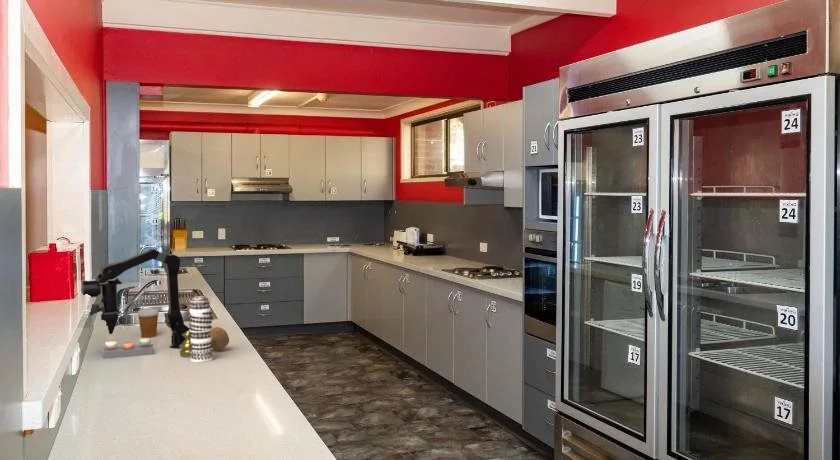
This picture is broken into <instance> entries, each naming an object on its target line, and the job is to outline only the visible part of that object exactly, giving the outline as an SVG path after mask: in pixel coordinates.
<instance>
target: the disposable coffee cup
mask: <svg viewBox="0 0 840 460" xmlns="http://www.w3.org/2000/svg"><path fill="white" fill-rule="evenodd" d="M159 313H160V312H159V309H157V308H143V309H140V310H137V313H136V315H137V317H138V323H139V329H140V334H141V338H154V337H157V333H158V332H157V330H158V319H159V315H160V314H159Z"/></svg>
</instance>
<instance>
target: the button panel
mask: <svg viewBox="0 0 840 460" xmlns="http://www.w3.org/2000/svg"><path fill="white" fill-rule="evenodd" d="M154 354H155V353H154V344H153V343H150V344H145V345H141V344H138V345H134V348H132V349H123V346H116V347H110V348H108V347H104V348H103V352H102V356H103V357H102V358H103V359H104V360H106V359H116V358H127V357H140V356H149V355H151V356H152V355H154Z"/></svg>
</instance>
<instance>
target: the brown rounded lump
mask: <svg viewBox="0 0 840 460" xmlns="http://www.w3.org/2000/svg"><path fill="white" fill-rule="evenodd" d="M211 341H212V344H211V345H212V348H211V349H212V350H214V351H216V352H220V351H222V350H223V349H224V348H225V347H227V346H228V345H229V343H230V337H229V335H228V333H227V331H226V330H225V329H224V328H222V327H221V326H220V327H219V326H214V327H212V330H211Z"/></svg>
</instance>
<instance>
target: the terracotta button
mask: <svg viewBox="0 0 840 460" xmlns="http://www.w3.org/2000/svg"><path fill="white" fill-rule="evenodd" d="M134 346H135V342H134V341H125V342H123V343H122V347H123V349H132V348H134Z"/></svg>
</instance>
